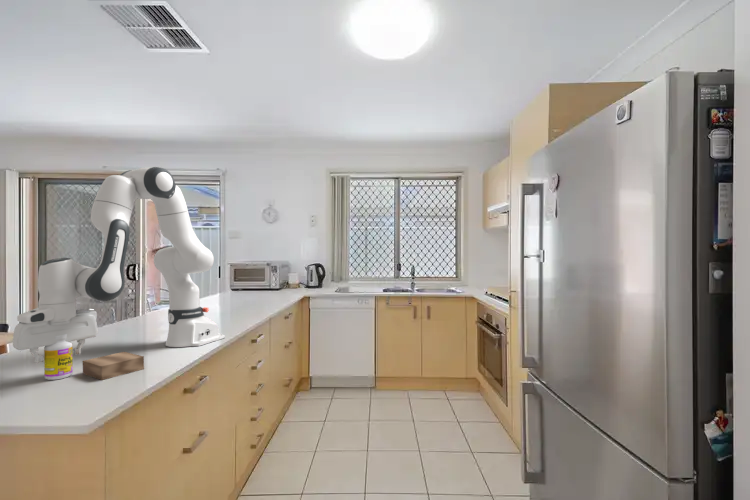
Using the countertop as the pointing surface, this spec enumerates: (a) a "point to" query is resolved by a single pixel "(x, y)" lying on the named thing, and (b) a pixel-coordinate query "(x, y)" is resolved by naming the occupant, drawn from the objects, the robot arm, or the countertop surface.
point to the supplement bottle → (58, 359)
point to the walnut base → (113, 365)
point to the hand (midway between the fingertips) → (58, 358)
